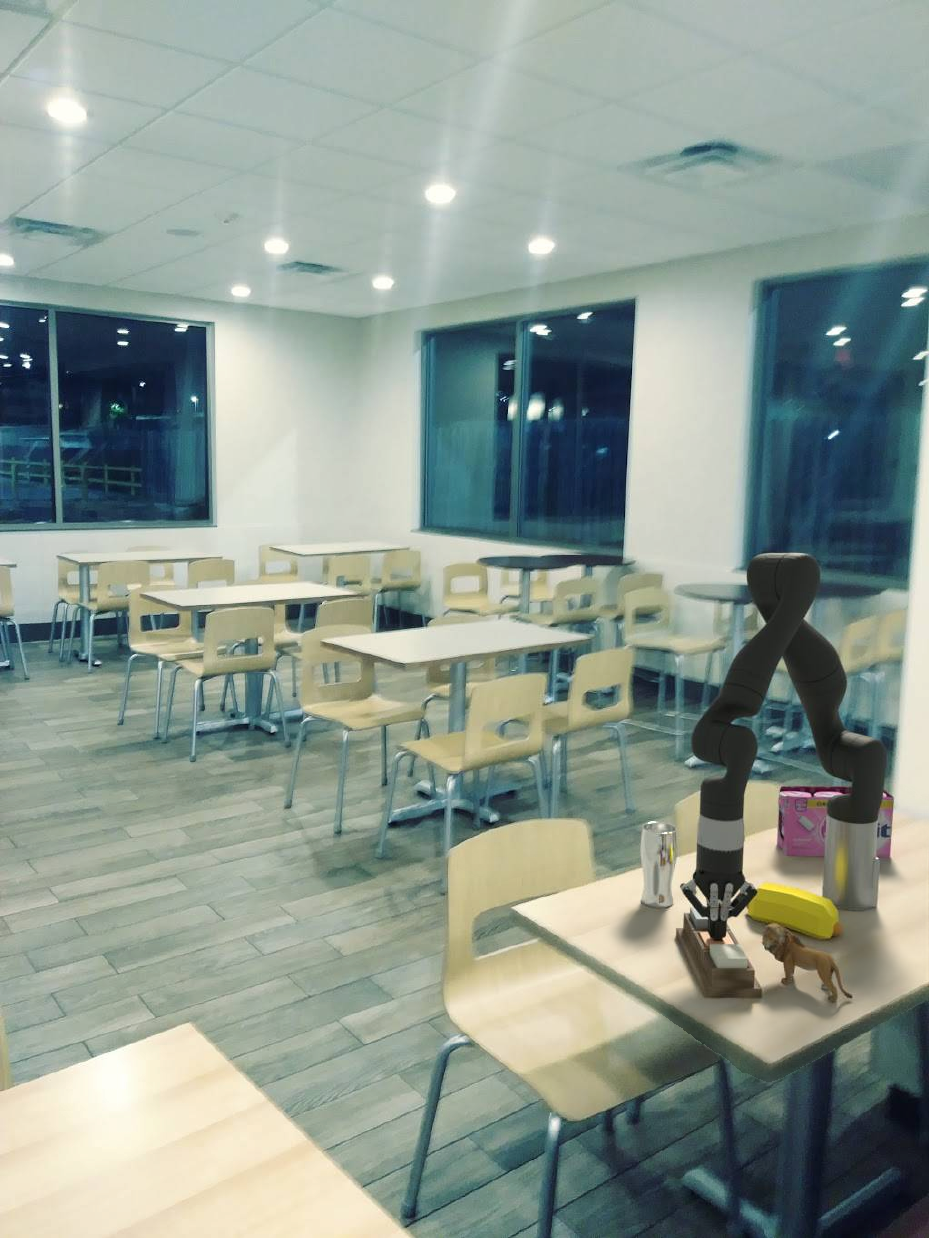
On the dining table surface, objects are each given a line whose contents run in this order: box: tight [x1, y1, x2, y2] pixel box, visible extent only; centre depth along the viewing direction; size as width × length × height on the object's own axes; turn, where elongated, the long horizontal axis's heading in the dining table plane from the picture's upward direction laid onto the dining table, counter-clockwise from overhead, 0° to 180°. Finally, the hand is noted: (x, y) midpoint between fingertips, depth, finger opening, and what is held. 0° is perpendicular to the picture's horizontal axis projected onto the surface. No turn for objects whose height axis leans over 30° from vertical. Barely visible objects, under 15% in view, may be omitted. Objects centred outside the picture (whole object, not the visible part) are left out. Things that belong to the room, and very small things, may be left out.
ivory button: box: [710, 943, 749, 968], centre depth 156 cm, size 5×5×3 cm
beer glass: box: [640, 821, 678, 909], centre depth 187 cm, size 7×7×15 cm
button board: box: [675, 912, 763, 999], centre depth 163 cm, size 9×21×4 cm, turn 0°
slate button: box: [689, 906, 708, 928], centre depth 170 cm, size 5×5×3 cm
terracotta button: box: [699, 932, 734, 947], centre depth 163 cm, size 5×5×3 cm
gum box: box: [776, 785, 895, 858], centre depth 214 cm, size 24×8×14 cm, turn 89°
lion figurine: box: [761, 923, 853, 1003], centre depth 156 cm, size 15×5×9 cm, turn 52°
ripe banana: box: [745, 881, 843, 941], centre depth 178 cm, size 18×7×8 cm
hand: (716, 938), depth 163 cm, fingers closed
